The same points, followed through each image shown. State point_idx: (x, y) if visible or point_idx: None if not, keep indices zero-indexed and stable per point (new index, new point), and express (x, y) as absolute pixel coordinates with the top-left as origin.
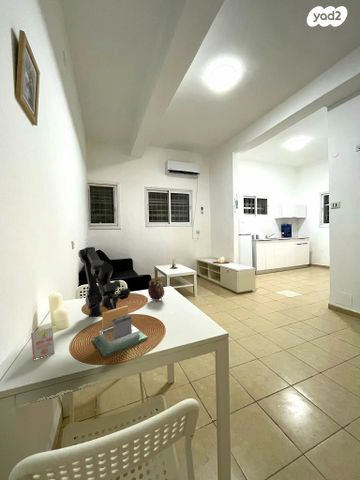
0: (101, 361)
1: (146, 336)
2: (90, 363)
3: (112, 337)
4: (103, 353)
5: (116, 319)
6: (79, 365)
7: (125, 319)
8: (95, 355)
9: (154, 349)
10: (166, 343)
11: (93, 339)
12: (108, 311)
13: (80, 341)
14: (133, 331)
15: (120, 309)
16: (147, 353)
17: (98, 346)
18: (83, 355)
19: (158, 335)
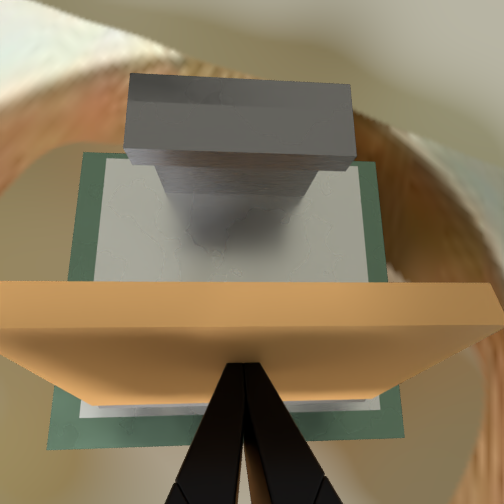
0: (388, 155)
1: (83, 158)
2: (438, 178)
3: (316, 211)
4: (375, 182)
5: (306, 131)
6: (488, 202)
7: (208, 85)
8: (406, 228)
9: (125, 51)
10: (38, 46)
11: (401, 408)
12: (398, 304)
13: (476, 489)
14: (149, 176)
15: (159, 293)
16: (173, 50)
17: (387, 277)
18: (465, 278)
19: (6, 145)
